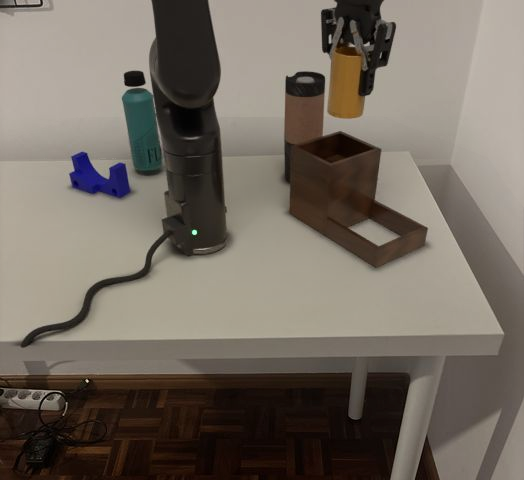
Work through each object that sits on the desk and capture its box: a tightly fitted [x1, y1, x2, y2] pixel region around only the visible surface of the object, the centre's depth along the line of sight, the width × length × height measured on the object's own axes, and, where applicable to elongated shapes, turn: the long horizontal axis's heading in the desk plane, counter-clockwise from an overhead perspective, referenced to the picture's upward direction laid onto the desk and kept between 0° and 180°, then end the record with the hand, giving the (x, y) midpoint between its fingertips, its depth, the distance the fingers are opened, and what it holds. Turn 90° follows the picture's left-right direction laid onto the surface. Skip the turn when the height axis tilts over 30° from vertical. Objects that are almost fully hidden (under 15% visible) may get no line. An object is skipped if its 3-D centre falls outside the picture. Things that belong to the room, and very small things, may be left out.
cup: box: [326, 45, 370, 120], centre depth 88 cm, size 6×6×9 cm
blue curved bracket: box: [68, 151, 131, 199], centre depth 113 cm, size 12×4×6 cm, turn 58°
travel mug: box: [283, 70, 326, 185], centre depth 111 cm, size 8×8×20 cm
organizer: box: [289, 130, 429, 269], centre depth 98 cm, size 12×23×13 cm, turn 36°
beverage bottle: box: [121, 70, 164, 172], centre depth 115 cm, size 6×7×20 cm
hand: (350, 89), depth 89 cm, fingers closed on cup, 6 cm apart
